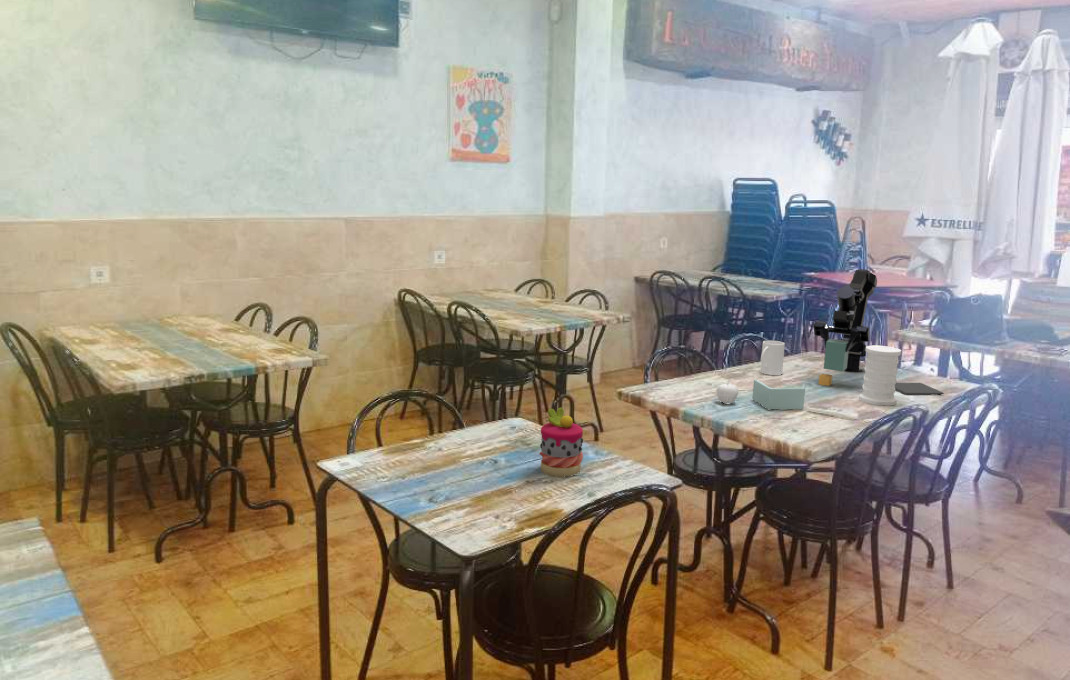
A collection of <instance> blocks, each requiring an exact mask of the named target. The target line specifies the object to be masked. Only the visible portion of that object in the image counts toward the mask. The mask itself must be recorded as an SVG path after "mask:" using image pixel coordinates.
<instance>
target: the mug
mask: <svg viewBox="0 0 1070 680" xmlns="http://www.w3.org/2000/svg"><path fill="white" fill-rule="evenodd" d="M785 345H786V343H785V342H783V341H778V340H763V341H762V347H761V354H760V355H761V356H760V367H759V368H760V369H759V373H760V372H761V373H760V374H762V373H764V374H763V375H765V374H769V375H768V376H772V375H778V376H782V375H783V374H784V373H783V368H784V355H785ZM781 374H782V375H781Z"/></svg>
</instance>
